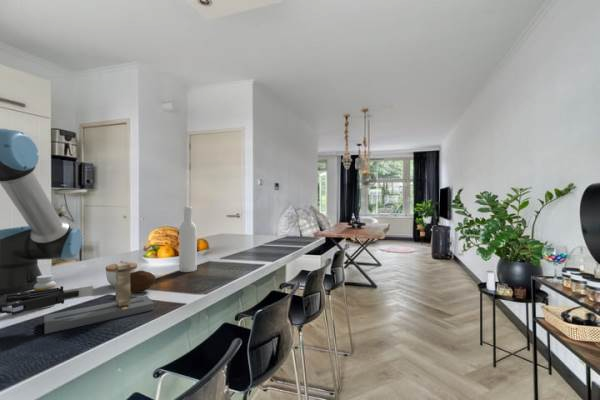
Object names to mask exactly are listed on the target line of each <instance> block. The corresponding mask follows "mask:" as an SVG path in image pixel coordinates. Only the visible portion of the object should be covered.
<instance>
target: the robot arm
mask: <svg viewBox="0 0 600 400" xmlns="http://www.w3.org/2000/svg"><path fill="white" fill-rule="evenodd" d="M38 153H39V150H38V147H37V145H36V143H35V141H34V140H33V139H32V138H31V137H30V136H29V135H28V134H27V133H25V132H22V131H19V130H14V129H8V128H0V185H1V187H2V189H3V190H4V191H5V193H6V195H8V198H9V199H10V201H12V203H13V205H14V206H15V207H16V209H17V210H18V212H19V213H20V215H21V216H22V217H23V219H24V221H25V223H26V224H27V225H26V226H17V227H11V228H10V227H9V228H1V229H0V295H4V294H7V295H6V296H1V297H0V314H5V315H8V314H11V315H12V316H15V315H16V316H17V315H19V314H22V313H25V312H30V311H35V310H37V309H38V308H43V307H47V306H51V305H54V306H55V305H59V304H61V305H63V304H65V301H66V300H74V299H79V298H84V297H90V296H94V285H93V284H89V285H81V286H76V287H75V286H74V287H68V288H64V286H63V285H61V286H60V287H56V288H53V289H44V290H35V291H34V285H35V284H36V283H38V282H37V277H38V276H42V275H43V274H42V272H41V269H40V268H39V265H38V263H39V262H38V260H42V261H44V260H46V261H47V260H68V259H69V260H70V259H73V258H75V257H76V256H78V254H79V252H80V251H81V247H82V244H83V234H82V231H81V230H80V228H76V227H74V228H71V226H70V225H69V223H68V221H66V220H64V219H61V218H60V216H59V215H58V213H57V212H56V210H55V209H54V207H53V205H52V203H51V201H50V199H49V198H48V196H47V194H46V193H45V191H44V189H43V187H42V185H41V184H40V181H39V180H38V178H37V176H36V175H35V172H34V171H35V170H36V166H37V164H38V163H39V159H40V158H39V154H38ZM38 310H39V309H38Z"/></svg>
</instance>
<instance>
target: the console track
mask: <svg viewBox="0 0 600 400" xmlns="http://www.w3.org/2000/svg"><path fill="white" fill-rule="evenodd" d="M153 310H155V302H154V301H153V300H152V299H151V298H150V297H149V296H148V295H143V296H142V295H141V296H138V297H133V298H130V304H129V305H124V306H120V307H119V306H118V305H117V303H116V301H112V302H108V303H101V304H96V305H92V306H91V305H90V306H85V307H81V308H76V309H71V310H66V311H65V310H64V311H61V312H55V313H50V314H46V315H45V314H44V316H43V318H44V319H43V320H44V321H43V322H44V323H43V324H44V325H43V326H44V335H47V334H51V333H55V332H56V333H57V332H60V331H64V330H65V331H66V330H69V329H74V328H77V327H82V326H86V325H92V324H96V323H101V322H104V321H109V320H113V319H118V318H123V317H127V316H132V315H136V314H141V313H144V312H149V311H153Z"/></svg>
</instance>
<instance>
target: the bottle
mask: <svg viewBox="0 0 600 400" xmlns="http://www.w3.org/2000/svg"><path fill="white" fill-rule="evenodd" d="M193 211H194V210H193V207H192V206H184V207H183V222H182V223H181V224H180V226H179V229H178V231H179V233H178V236H179V239H178V241H179V243H178V245H179V248H178V252H179V253H178V256H179V257H178V258H179V259H178V261H179V262H178V268H179V269H178V270H179V272H181V273H191V272H195V271H197V268H198V257H197V256H198V254H197V253H198V251H197V250H198V248H197V247H198V231H197V230H198V228H197V225H196V224H195V223H194V222H193Z"/></svg>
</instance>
